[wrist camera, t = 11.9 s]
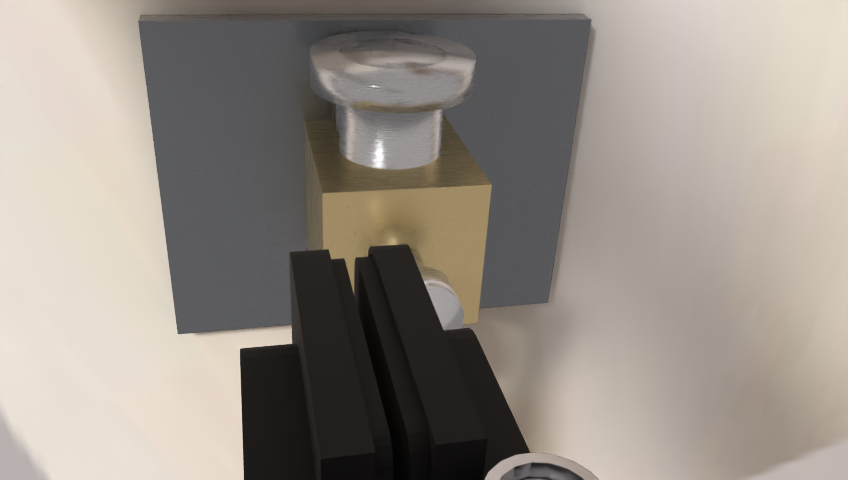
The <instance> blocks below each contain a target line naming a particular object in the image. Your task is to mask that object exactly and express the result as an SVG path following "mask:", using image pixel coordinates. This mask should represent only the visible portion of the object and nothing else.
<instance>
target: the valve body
mask: <svg viewBox="0 0 848 480" xmlns="http://www.w3.org/2000/svg"><path fill="white" fill-rule="evenodd" d="M138 22H139V30H140V38H141V46H142V53H143V61H144V69H145V77H146V85H147V93H148V101H149V109H150V117H151V125H152V133H153V141H154V148H155V156H156V164H157V172H158V180H159V188H160V196H161V204H162V212H163V220H164V228H165V236H166V243H167V251H168V259H169V267H170V275H171V283H172V291H173V299H174V307H175V315H176V323H177V331H178V334H186V333H198V332H210V331H221V330H233V329H245V328H256V327H268V326H280V325H291V324H292V319H291V293H290V267H289V252H293V251H308V250H324V249H328V250H329V252H330V256H331V259H340V258H344V259H345V262H346V266H347V270H348V273H349V277H350V281H351V285H352V289H353V293H354V265H355V258H356V257H368V250H369V247H370V246H384V245H399V244H408V245H409V247H410V249H411V251H412V254H413V256H414V259H415V261H416V263H417V266H418V267H431V268H435V269H437V270H439V271H441V272H443V273H444V274H445V275H446V276H447V277H448V278H449V280H450V282H451V284H452V286H453V288H454V291H455V293H456V295H457V297H458V299H459V301H460V304H461V306H462V308H463V312H464V322H463V324H473V323H478V314H479V308H490V307H502V306H513V305H525V304H537V303H548V297H549V291H550V284H551V278H552V271H553V265H554V258H555V252H556V245H557V239H558V232H559V226H560V219H561V213H562V206H563V200H564V193H565V187H566V180H567V174H568V167H569V161H570V154H571V148H572V141H573V135H574V128H575V122H576V115H577V109H578V102H579V96H580V89H581V83H582V76H583V70H584V63H585V57H586V50H587V44H588V37H589V31H590V24H591V19H590V18H588V17H587V16H585V15H584V14H403V15H140V18H139V21H138Z"/></svg>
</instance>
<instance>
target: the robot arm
mask: <svg viewBox="0 0 848 480" xmlns="http://www.w3.org/2000/svg"><path fill="white" fill-rule="evenodd" d="M289 267H290V293H291V319H292V344H286V345H275V346H264V347H253V348H242V349H240V366H241V397H242V428H243V459H244V480H599V479H598V478H597V477H596V476H595V475H594V474H593V473H592V472H591V471H589V470H588V469H586V468H584V467H583V466H581V465H579V464H578V463H576V462H574V461H572V460H569V459H566V458H563V457H560V456H557V455H554V454H545V453H536V452H534V453H530V451H529V449H528V447H527V445H526V443H525V441H524V438H523V436H522V434H521V432H520V430H519V428H518V425H517V423H516V421H515V419H514V417H513V415H512V412H511V410H510V408H509V406H508V404H507V402H506V399H505V397H504V395H503V393H502V391H501V389H500V386H499V384H498V382H497V380H496V378H495V376H494V373H493V371H492V369H491V367H490V365H489V363H488V360H487V358H486V356H485V354H484V352H483V350H482V348H481V345H480V343H479V341H478V339H477V337H476V335H475V333H474V332H473V330H471V329H470V328H463V329H451V330H443V327H442V325H441V322H440V320H439V317H438V315H437V313H436V310H435V308H434V305H433V303H432V300H431V298H430V295H429V293H428V290H427V288H426V286H425V283H424V281H423V278H422V276H421V273H420V271H419V268H418V266H417V263H416V261H415V259H414V256H413V254H412V251H411V249H410V247H409V245H408V244H399V245H384V246H370V247H369V250H368V257H356V258H355V265H354V293H353V289H352V285H351V281H350V277H349V273H348V270H347V266H346V262H345V259H344V258H340V259H331V256H330V252H329V250H328V249H324V250H308V251H293V252H289Z"/></svg>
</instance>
